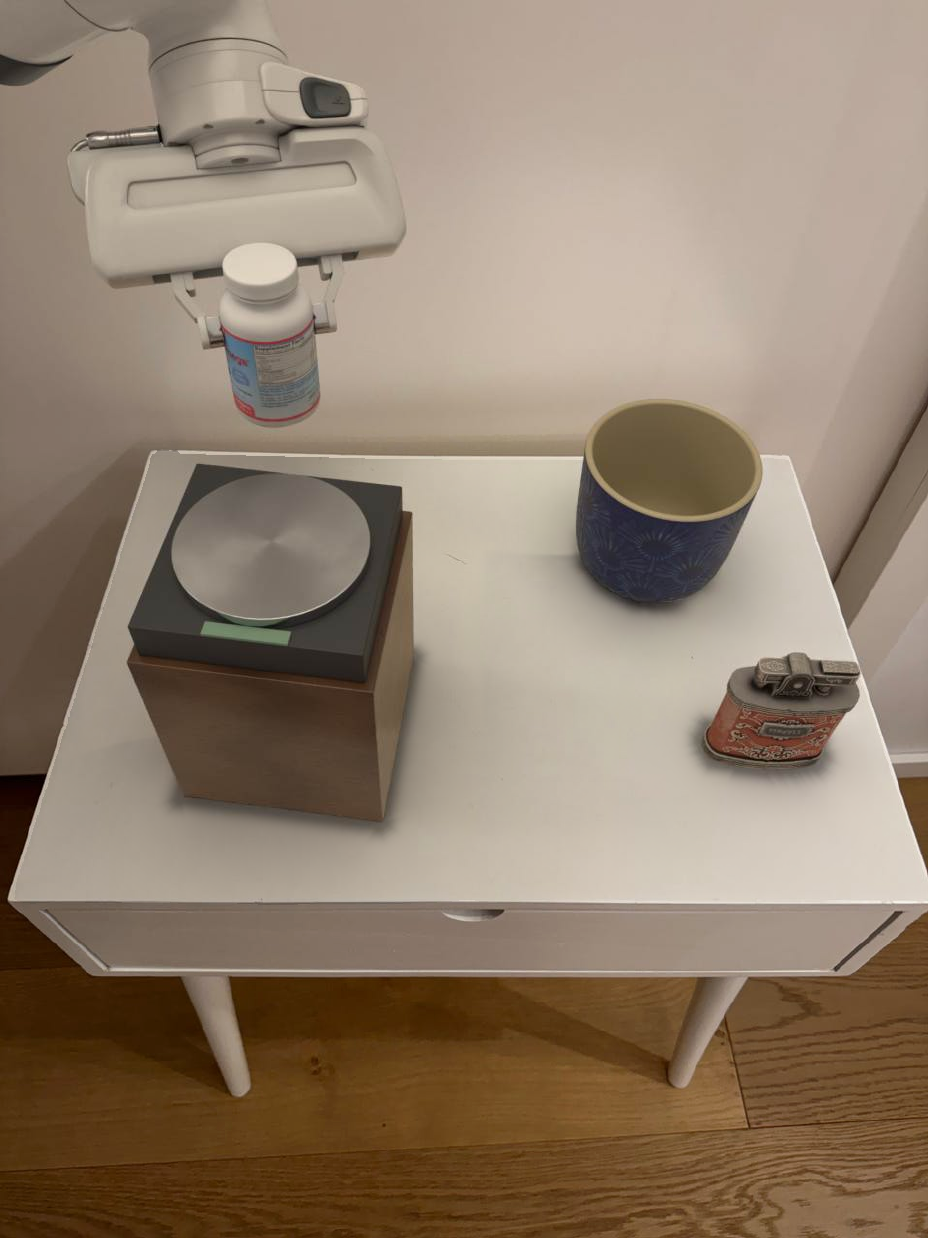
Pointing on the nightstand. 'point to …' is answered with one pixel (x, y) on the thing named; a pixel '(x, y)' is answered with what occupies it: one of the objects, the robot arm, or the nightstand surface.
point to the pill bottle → (269, 336)
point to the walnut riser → (289, 720)
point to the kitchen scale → (272, 573)
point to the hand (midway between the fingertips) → (271, 339)
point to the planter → (663, 497)
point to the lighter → (781, 712)
